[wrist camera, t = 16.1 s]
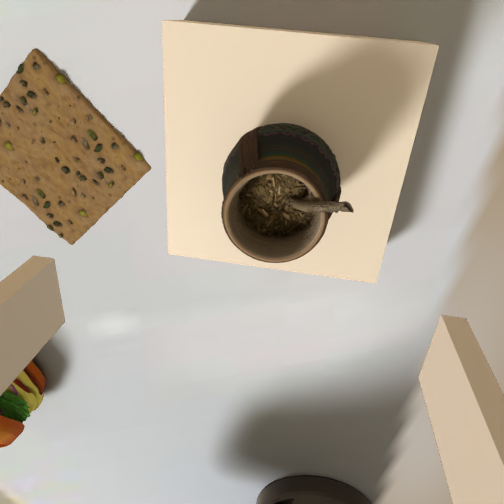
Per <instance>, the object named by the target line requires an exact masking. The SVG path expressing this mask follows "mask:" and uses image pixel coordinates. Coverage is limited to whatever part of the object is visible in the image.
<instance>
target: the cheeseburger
mask: <svg viewBox="0 0 504 504" xmlns="http://www.w3.org/2000/svg"><path fill="white" fill-rule="evenodd" d="M45 381H46V379H45V378H44V376H43V374H42V372H41V371H40V370H39V368H38V367H37V366H36V365H35V364H34V363H33V362H32V360H31V361H30V363H29V364H28V365H27V366H26V367H25V368H24V369H23V371H22V372H21V373H20V374H19V375H18V376H17V377H16V379H15V380H14V381H13V382H12V383H11V384H10V386H9V387H8V388H7V389H6V390H5V391H4V392H3V394H2V395H1V396H0V448H1V447H5V446H8V445H10V444H11V443H12V442H13V441H14V440H15V439H16V438H17V437H18V436H19V435H20V434H21V433H22V432H23V430H24V427H25V426H24V425H23V423H22V422H23V421H26V418H27V417H29V416H30V413H31V412H32V411H33V410H36V409H37V408H38V407H39V405H40V404H41V402H42V400H43V397H44V395H42V393H43V391H44V387H45Z"/></svg>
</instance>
